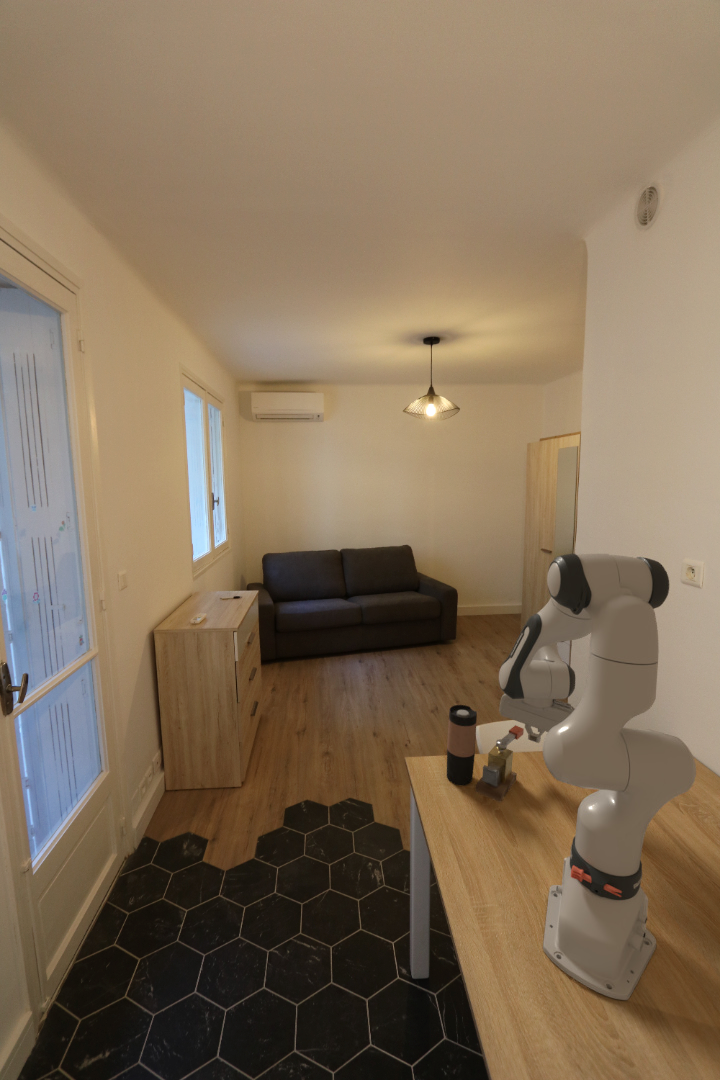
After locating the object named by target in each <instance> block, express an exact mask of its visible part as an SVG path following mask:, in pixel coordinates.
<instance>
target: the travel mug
mask: <svg viewBox="0 0 720 1080" xmlns="http://www.w3.org/2000/svg"><path fill="white" fill-rule="evenodd" d="M448 713H449V714H448V729H447V744H446V746H447V747H446V779H447V780H448V781H449V782H450V783H452V784H454V785H457V786H460V787H461V786H468V785H470V784H471V783H472V782H473V777H474V776H473V775H474V766H475V755H476V739H477V718H478V716H477V715H478V714H477V711H476V710H473V709H472V708H471V707H470V706H468V705H464V704H455V705H452V706H451V707H450V708H449V712H448Z"/></svg>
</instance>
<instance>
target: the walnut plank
mask: <svg viewBox="0 0 720 1080" xmlns="http://www.w3.org/2000/svg"><path fill="white" fill-rule="evenodd" d="M517 774H518V773H516V772H515V771H512V773H511V776H510V777H509V778H508V780H507V781H506V782H505V784H504V783H502V782H501V783H500V785H499V786H498V788H496V787H493V786H491V785H489V784H486V782H485V781H482V777H483V775H482V777H480V779H479V780H478V781H477V783H476V784H475V789H474V791H475V793H477V794H480V795H483V796H485V797H486V798H489V799H491V800H493V801H495V802H498V803H501V802H502V801H503V799H504V798H505V797H506V796H507V794H508V793H509V791H510V789H511V788H512V787H513V785H514V783H515V782H516V781H517Z"/></svg>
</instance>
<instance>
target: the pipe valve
mask: <svg viewBox="0 0 720 1080" xmlns="http://www.w3.org/2000/svg"><path fill="white" fill-rule="evenodd" d="M513 755H514V751H513V750H511V749H508V748H506V749H505V750H500V749H498V748H497V747H496V744H495V745H494V746H493V747H492V748H491V749H490V751H489V752H488V756H487V765H486V764H484V765H483V766H482V776H483V777H481V778H482V781H485V782H486V784H489V785H491V786H493V787H496V788H498V786H499V785H500V783H501V782H502V783H504V784H505V782H506V781H507V780H508V778H509V777H510V776H511V773H512V772H513V771H512V770H513V757H514V756H513Z"/></svg>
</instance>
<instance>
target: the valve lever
mask: <svg viewBox="0 0 720 1080" xmlns="http://www.w3.org/2000/svg"><path fill="white" fill-rule="evenodd" d="M524 730H525V728H523V727H521V726H518V725H514V726H512V727H511V728H510V729H509V730H508V733H507V734H506V735H504V736H503V737H502V739H496V741H495V745H496V747H497V748H498V749H500V750H505V749H508V748H507V746H508V745H509V744H510V743H512V742H513V741H514V740H517V741H518V740H519V739H520V738H521V737H522V736H523V735H524Z"/></svg>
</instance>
